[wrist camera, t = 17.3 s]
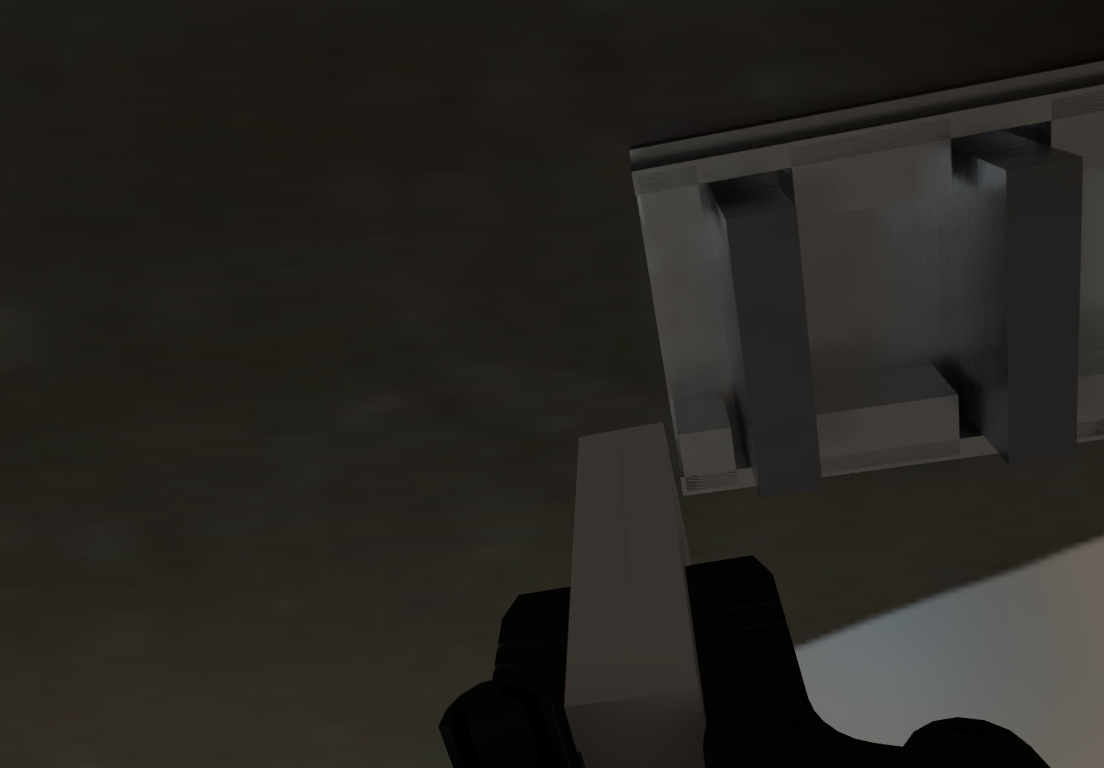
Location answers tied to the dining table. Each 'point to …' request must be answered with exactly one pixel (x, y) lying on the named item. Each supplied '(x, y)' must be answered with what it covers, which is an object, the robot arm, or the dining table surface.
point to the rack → (882, 282)
